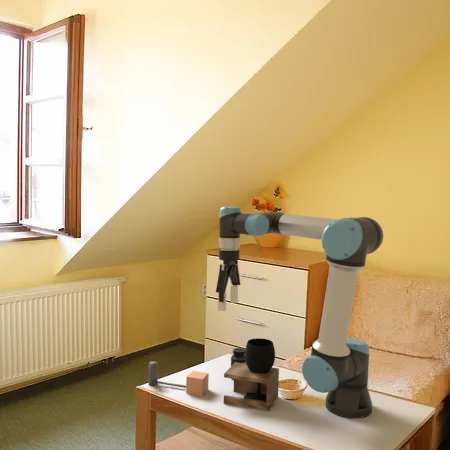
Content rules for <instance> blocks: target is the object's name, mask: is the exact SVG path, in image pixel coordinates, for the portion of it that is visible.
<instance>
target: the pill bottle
mask: <svg viewBox="0 0 450 450" xmlns="http://www.w3.org/2000/svg"><path fill="white" fill-rule="evenodd" d="M245 349H246V348H242V347H235V348H233V349H232V355H231V356H230V367H231V366H232V365H233V364H234V363H235V362H236V363H244V364H246V362H245ZM230 379H231V380H233V381H234V379H232V378H230Z"/></svg>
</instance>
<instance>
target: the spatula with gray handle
mask: <svg viewBox="0 0 450 450" xmlns="http://www.w3.org/2000/svg"><path fill="white" fill-rule="evenodd" d="M158 365H159V363H158V361H154V360H152V361H149V362H148V385H149V386H150V387H151V386H153V387H154V386H157V385H158V384H159V385H160V384H161V385H166V386H172V387H179V388H183V389H185V393H186V394H189V395H193V396H194V395H195V396H199V397H200V396H201V397H203V396H204V395H205V393H207V392H208V391H209V372H203V371H196V370H192V371H191V372H190V373H189V374H188V375H186V380H185V381H186V385H184V384H177V383H171V382H167V381H166V382H165V381H159V380H158V374H159V373H158V372H159V371H158V369H159V368H158Z"/></svg>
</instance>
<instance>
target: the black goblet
mask: <svg viewBox="0 0 450 450" xmlns="http://www.w3.org/2000/svg"><path fill="white" fill-rule="evenodd" d="M244 349H245V362H246V365H247V367H248V368H249V369H250V371H252V372H255V373H266V372H268V371H269V370H270V369H271V368H274V367H273V366H274V364H275V360H276V350H275V345H274V342H273V341H272V340H270V339H268V338H259V337H258V338H251V339H248V340H247V343H246V345H245V348H244ZM260 385H261V383H258V389H257V393H245V394H244V396H243V398H246V399H252V400H259V401H265V402H266V395H265V394H261V389H260Z"/></svg>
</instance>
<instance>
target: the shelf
mask: <svg viewBox="0 0 450 450" xmlns="http://www.w3.org/2000/svg"><path fill="white" fill-rule="evenodd" d="M279 377H280V368H279V367H272V368H271V369H270V370H269V371H268V372H266V373H255V372H252V371H250V369H249V368H248V367H247V365H246V364H244V363H236V362H235V363H234V364H233V365H232V366H231V365H230V367H229V368H228V369H227V370H226V371H225V372H224V373H223V378H225V379H226V378H227V379H231V378H232V379H231V380H233V379H234V380H233V392H236V393H241V394H247V393H257V389H258V383H261V385H260V389H261V394H265V395H266V402H265V401H259V400H252V399H246V398H244V397H239V396H233V395H226V394H225V395H223V402H222V403H223V404H224V405H225V404H227V405H232V406H238V407H244V408H249V409H256V410H261V411H267V412H270V411H271V410H272V408H273V406H274V404H275V403H276V401H277V399H278V398H279V386H280V385H279V383H280V382H279V381H280V380H279V379H280V378H279Z"/></svg>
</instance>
